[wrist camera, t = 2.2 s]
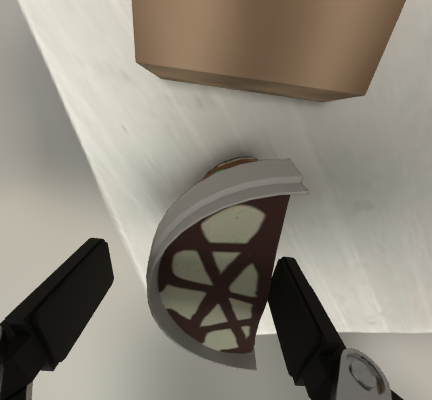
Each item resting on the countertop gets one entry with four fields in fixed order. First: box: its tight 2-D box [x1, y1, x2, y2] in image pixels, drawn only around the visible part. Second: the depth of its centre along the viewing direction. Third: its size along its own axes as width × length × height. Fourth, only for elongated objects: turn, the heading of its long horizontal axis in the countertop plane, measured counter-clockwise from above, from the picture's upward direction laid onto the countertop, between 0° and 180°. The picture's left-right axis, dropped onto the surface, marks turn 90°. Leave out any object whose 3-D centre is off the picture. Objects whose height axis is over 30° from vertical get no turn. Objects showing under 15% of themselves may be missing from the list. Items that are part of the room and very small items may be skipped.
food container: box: [146, 157, 309, 371], centre depth 12 cm, size 12×6×10 cm, turn 178°
